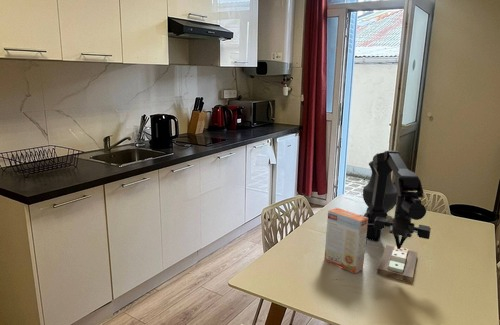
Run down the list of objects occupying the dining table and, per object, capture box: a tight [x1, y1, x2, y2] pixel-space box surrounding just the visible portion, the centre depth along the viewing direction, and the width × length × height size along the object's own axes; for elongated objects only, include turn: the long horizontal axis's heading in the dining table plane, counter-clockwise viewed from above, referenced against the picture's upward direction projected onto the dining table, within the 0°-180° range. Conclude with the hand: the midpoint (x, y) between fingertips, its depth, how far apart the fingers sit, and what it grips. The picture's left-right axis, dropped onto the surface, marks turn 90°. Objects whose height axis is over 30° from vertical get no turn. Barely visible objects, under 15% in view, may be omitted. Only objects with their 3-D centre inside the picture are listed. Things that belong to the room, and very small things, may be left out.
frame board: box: [376, 245, 418, 283], centre depth 140 cm, size 12×22×2 cm, turn 152°
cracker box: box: [323, 207, 368, 274], centre depth 137 cm, size 14×6×21 cm, turn 42°
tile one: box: [388, 260, 404, 273], centre depth 134 cm, size 5×5×3 cm
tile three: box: [394, 245, 409, 257], centre depth 146 cm, size 5×5×3 cm
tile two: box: [391, 250, 408, 265], centre depth 140 cm, size 5×5×3 cm
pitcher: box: [362, 160, 398, 218], centre depth 189 cm, size 17×21×30 cm
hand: (398, 248), depth 133 cm, fingers closed
